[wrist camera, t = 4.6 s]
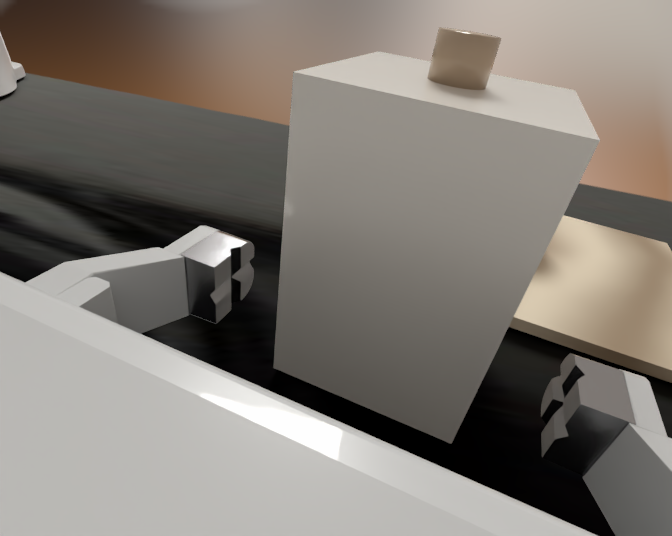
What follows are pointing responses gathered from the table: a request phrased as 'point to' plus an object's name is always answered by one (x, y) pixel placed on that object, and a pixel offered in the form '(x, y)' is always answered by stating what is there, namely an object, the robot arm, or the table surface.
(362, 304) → the tall white canister
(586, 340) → the mat
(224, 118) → the table surface
